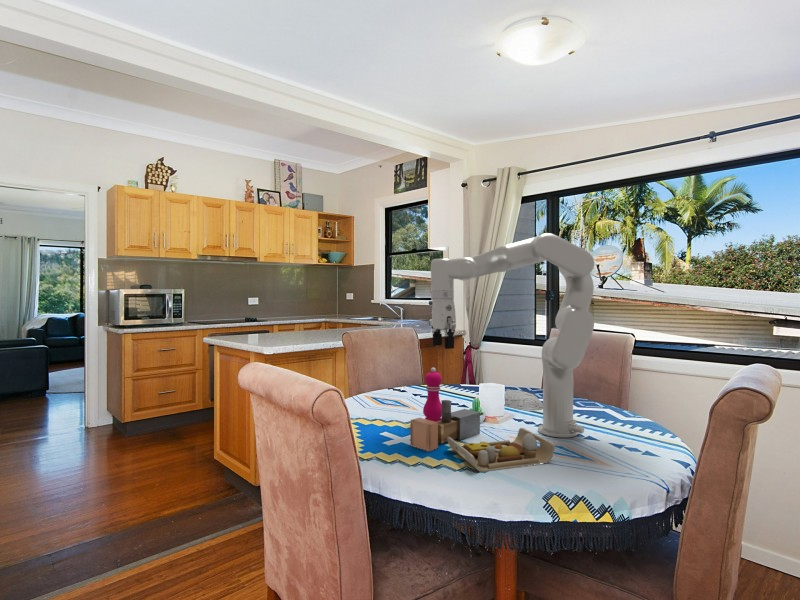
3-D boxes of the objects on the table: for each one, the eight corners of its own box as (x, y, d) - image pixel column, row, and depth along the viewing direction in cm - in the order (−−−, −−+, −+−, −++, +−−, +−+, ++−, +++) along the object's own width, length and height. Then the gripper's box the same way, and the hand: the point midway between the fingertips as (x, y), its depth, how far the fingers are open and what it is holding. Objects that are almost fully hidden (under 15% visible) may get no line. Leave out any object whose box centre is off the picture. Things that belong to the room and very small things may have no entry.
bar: (474, 432, 156) (474, 396, 156) (441, 443, 145) (441, 404, 145) (464, 430, 159) (464, 394, 159) (431, 440, 148) (431, 402, 148)
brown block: (437, 448, 141) (437, 422, 141) (428, 451, 138) (428, 425, 138) (419, 442, 147) (419, 417, 147) (410, 445, 144) (410, 419, 144)
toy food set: (521, 443, 147) (521, 419, 147) (556, 464, 130) (556, 436, 129) (445, 451, 140) (445, 426, 140) (472, 474, 122) (472, 445, 122)
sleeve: (479, 433, 156) (479, 412, 156) (460, 440, 149) (460, 418, 149) (464, 429, 161) (464, 408, 160) (445, 435, 154) (445, 414, 154)
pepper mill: (442, 427, 163) (442, 369, 162) (421, 426, 164) (421, 368, 164) (444, 421, 170) (444, 366, 170) (424, 420, 171) (424, 365, 171)
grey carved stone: (532, 412, 182) (532, 394, 182) (482, 403, 201) (483, 387, 202) (555, 410, 191) (556, 393, 192) (506, 402, 211) (506, 386, 211)
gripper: (464, 295, 151) (465, 349, 151) (442, 295, 167) (443, 343, 168) (442, 296, 148) (443, 350, 149) (422, 295, 165) (423, 344, 165)
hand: (443, 346), depth 158 cm, fingers open, 9 cm apart
